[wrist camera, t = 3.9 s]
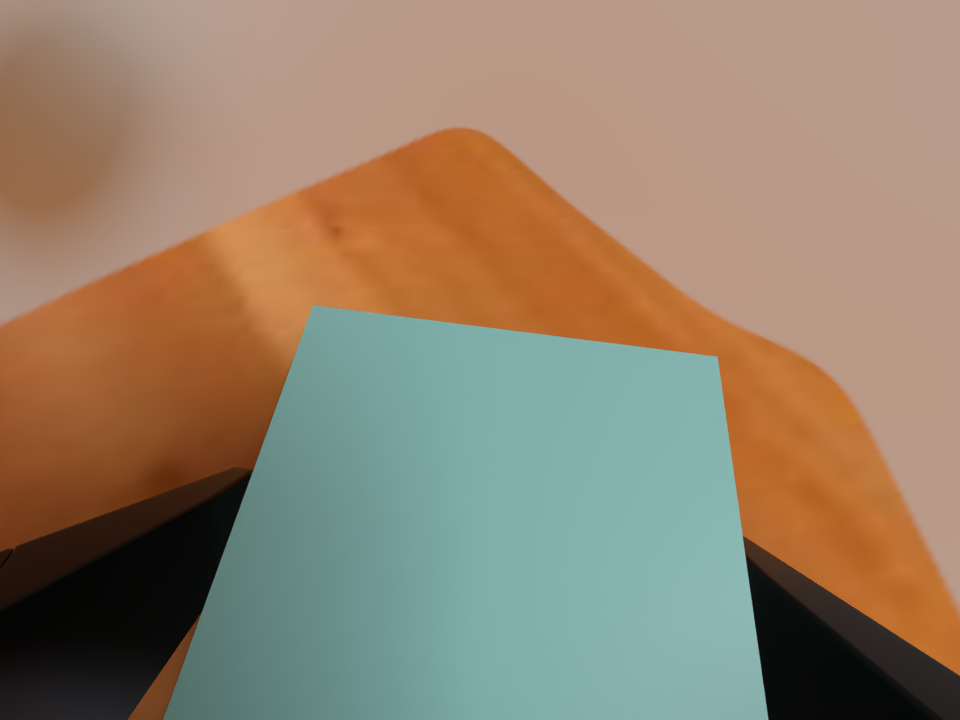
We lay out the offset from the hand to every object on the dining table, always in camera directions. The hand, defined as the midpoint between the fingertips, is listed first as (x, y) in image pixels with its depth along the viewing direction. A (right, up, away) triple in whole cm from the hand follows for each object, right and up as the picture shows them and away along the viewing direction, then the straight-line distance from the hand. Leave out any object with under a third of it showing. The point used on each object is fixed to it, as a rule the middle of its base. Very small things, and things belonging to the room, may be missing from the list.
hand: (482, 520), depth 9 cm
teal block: (0, -4, +5) cm, 6 cm away
